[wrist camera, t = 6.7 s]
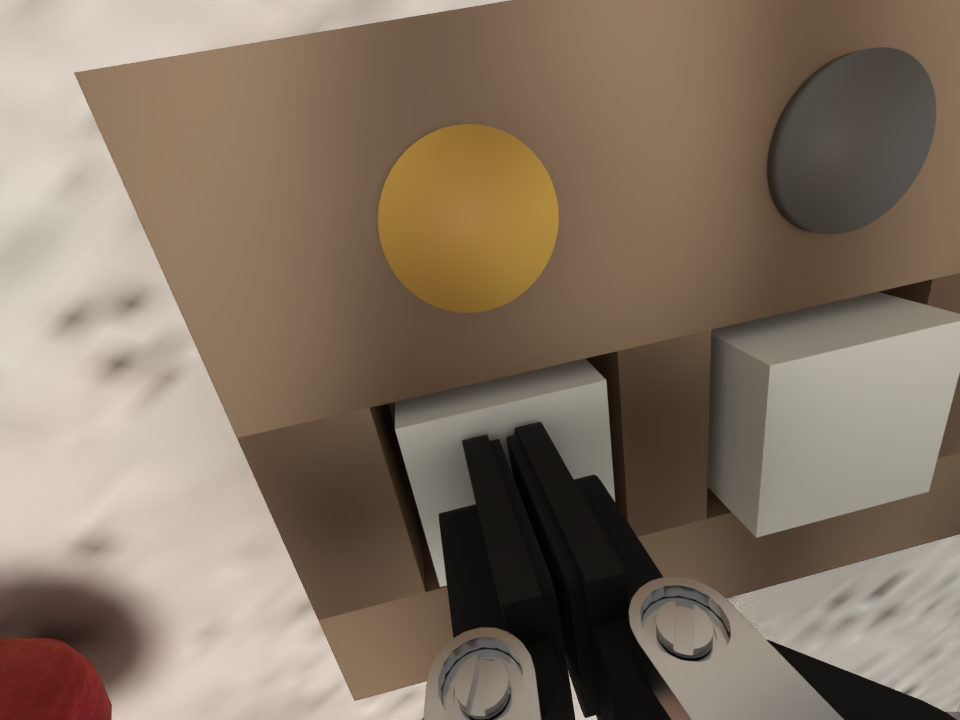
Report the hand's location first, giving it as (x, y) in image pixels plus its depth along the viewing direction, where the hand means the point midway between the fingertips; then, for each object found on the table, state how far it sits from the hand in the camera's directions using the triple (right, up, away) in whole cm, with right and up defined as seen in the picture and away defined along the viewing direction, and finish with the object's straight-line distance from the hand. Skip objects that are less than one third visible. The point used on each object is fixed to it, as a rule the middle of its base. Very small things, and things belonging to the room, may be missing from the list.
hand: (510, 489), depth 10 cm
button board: (+6, +4, +3) cm, 8 cm away
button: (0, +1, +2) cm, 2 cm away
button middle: (+7, +2, +2) cm, 7 cm away
